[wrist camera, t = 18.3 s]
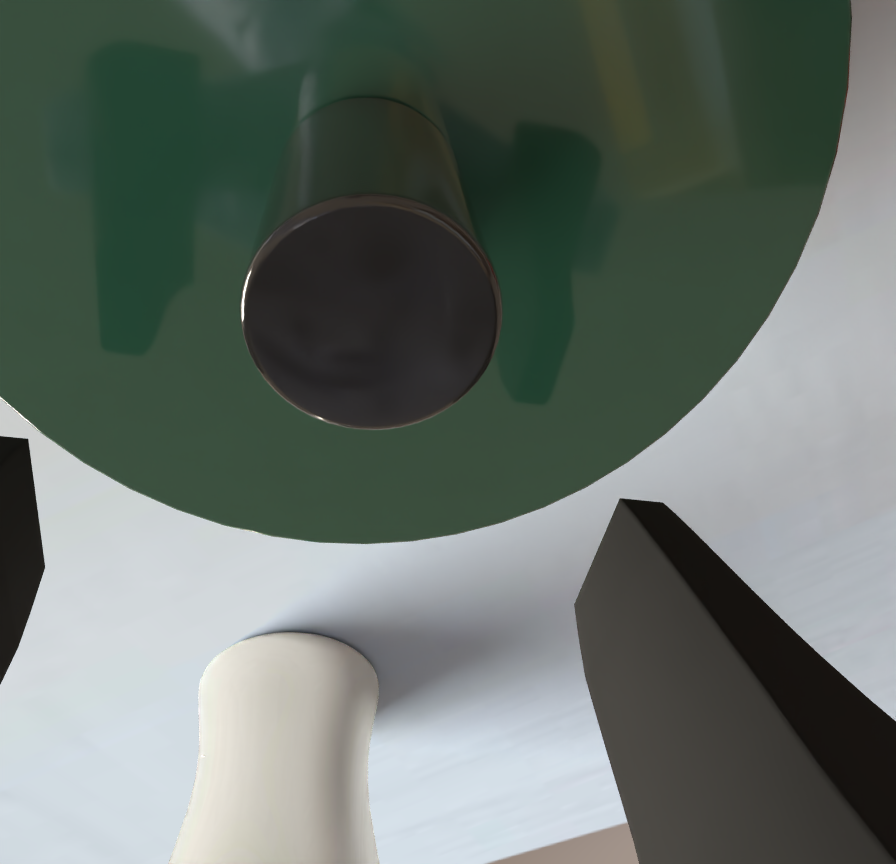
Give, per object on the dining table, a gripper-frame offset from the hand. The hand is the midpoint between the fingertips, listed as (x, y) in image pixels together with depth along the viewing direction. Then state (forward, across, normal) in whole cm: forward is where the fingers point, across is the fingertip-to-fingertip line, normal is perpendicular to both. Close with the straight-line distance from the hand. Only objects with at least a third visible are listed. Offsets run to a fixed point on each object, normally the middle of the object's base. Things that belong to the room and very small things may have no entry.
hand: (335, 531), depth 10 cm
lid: (+3, 0, -4) cm, 5 cm away
